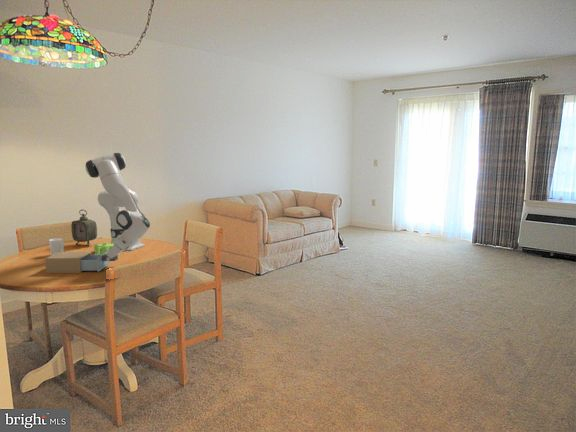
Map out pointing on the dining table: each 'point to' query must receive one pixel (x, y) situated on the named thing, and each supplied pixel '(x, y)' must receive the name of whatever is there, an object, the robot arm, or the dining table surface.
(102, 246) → the teapot
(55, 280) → the dining table surface
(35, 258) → the dining table surface
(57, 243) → the white cup
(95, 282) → the dining table surface
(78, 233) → the tabletop clock
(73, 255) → the sleeve
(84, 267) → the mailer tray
